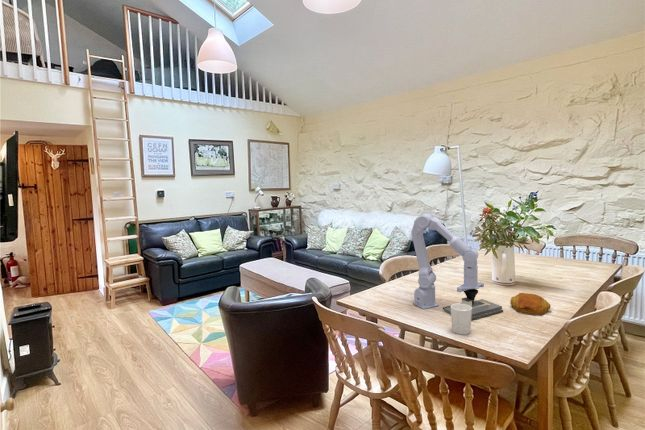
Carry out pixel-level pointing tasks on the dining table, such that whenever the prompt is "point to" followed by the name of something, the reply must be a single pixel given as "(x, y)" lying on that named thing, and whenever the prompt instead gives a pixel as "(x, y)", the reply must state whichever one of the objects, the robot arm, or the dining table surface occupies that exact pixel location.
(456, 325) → the white cup
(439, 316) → the dining table surface
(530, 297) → the croissant
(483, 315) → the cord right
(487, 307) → the breaker panel
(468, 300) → the grey and beige block
